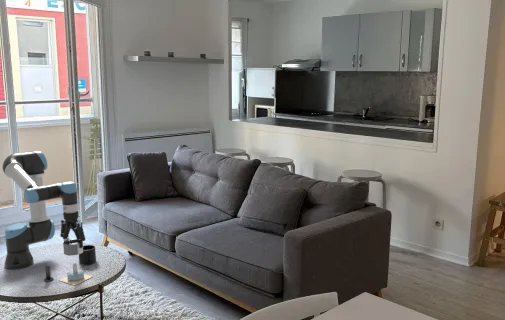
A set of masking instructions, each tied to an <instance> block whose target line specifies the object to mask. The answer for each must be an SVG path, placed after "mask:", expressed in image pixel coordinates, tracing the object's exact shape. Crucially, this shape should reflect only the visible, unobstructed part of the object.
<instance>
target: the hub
mask: <svg viewBox="0 0 505 320" xmlns="http://www.w3.org/2000/svg"><path fill="white" fill-rule="evenodd" d="M92 278H93V276H92V275H88V274H85V273H84V270H82V269H78V263H77V262H73V263H72V270H70V271H68V272H67V275H66V276H65V277H63V278H61V279H58V281H59V282H62V283H64V282H65V284H69V285H71V286H77V285H78V284H81V283H83V282H85V281H87V280H90V279H92Z"/></svg>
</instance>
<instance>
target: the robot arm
mask: <svg viewBox="0 0 505 320" xmlns="http://www.w3.org/2000/svg"><path fill="white" fill-rule="evenodd" d="M47 169H48V161H47V157H46V156H45V154H44V153H43V152H42V151H40V150H35V151H34V150H33V151H32V150H31V151H25V152H18V153H13V154H10V155H8V156H7V157H6V158H5V159H4V161H3V163H2V171H3V173H4V175H5V176H6V177H8V178H11V180H12V181H14V182H15V184H17V186H18V187H19V188H20V189H21V190H22V191H23V199H24V201H25V202H26V203H27V204H28V205H29V210H30V219H29V220H28V224H27V223H26V222H20V223H19V222H18V223H14V224H11V225H9V226H8V227H6V229H5V230H4V234H5V235H4V239H5V245H6V256H5V260H4V268H6V269H8V270H17V269H19V270H20V269H24V268H27V267H29V266H31V265H33V264H34V257H33V255H32V253H31V251H30V246H31V245H34V244H38V243H42V242H47V241H49V240H52V239H53V237H54V235H55V232H56V226H55V223H54V221H53V220H52V219H51V218H50V216H49V215H47V208H46V201H49V200H55V199H61V201H62V210H63V211H62V214H63V215H62V216H63V219H62V220H60V223H61V227H60V234H59V237H60V238H62V239H63V242H64V241H66V240H69V239H70V236H69V235H70V232H71V231H72V232H73V233H74V236H75V239H76V238H77V240H78V242H77V250H78V255H79V254H81V253H83V246H84V243H83V242H85V241H86V236H85V232H84V228H83V227H84V226H83V222H79V221H78V219H79V218H80V216H79V214H80V213H79V203H78V187H77V183H76V182H74V181H65V182H59V181H58V182H54V183H52V184H49V185H44V181H43V176H44V175H45V171H46V170H47Z"/></svg>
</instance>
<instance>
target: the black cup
mask: <svg viewBox="0 0 505 320" xmlns="http://www.w3.org/2000/svg"><path fill="white" fill-rule="evenodd" d="M96 253H97V252H96V246H95V245H92V244H86V245H83V253H81V254H78V263H79V265H80V266H90V265H93V264H96V262H97V254H96Z"/></svg>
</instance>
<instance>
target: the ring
mask: <svg viewBox="0 0 505 320" xmlns="http://www.w3.org/2000/svg"><path fill="white" fill-rule="evenodd" d="M77 242H78V240H77V238H76V237H75V238H69V240H66V241H64V240H63V243H62V244H63V246H62V247H63V255H66V256H69V257H70V256H79V254H78V250H77Z"/></svg>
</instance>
